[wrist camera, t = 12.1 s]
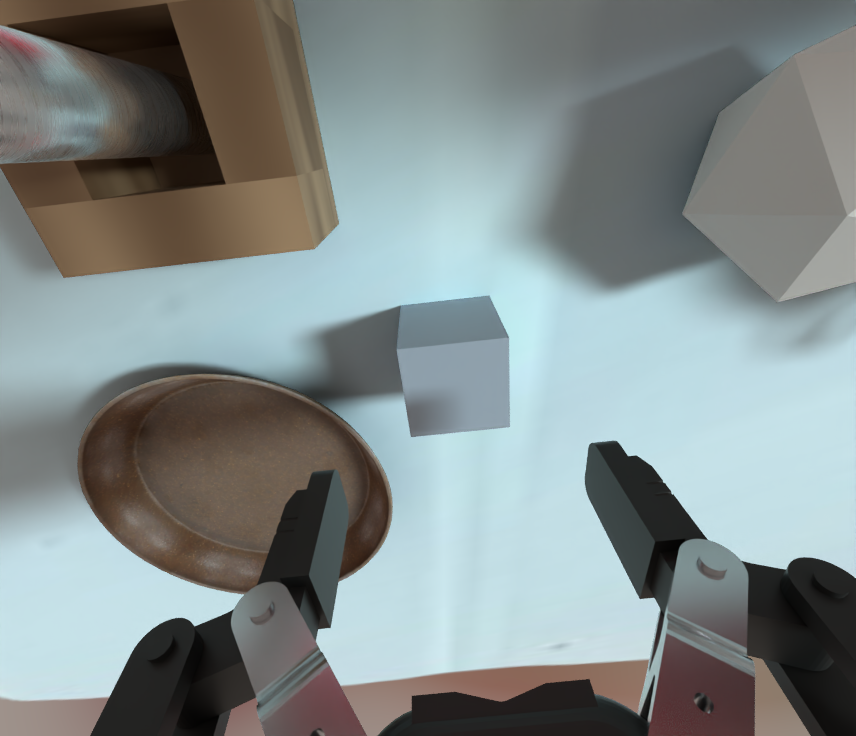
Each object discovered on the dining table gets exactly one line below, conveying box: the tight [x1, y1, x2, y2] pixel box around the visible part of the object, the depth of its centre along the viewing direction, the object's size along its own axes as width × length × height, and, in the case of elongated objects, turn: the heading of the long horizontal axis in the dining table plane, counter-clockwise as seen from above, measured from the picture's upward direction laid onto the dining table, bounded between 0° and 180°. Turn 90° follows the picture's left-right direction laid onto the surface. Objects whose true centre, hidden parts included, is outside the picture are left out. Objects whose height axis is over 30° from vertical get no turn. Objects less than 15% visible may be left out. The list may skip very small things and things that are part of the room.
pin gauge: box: [0, 25, 215, 164], centre depth 10 cm, size 2×2×12 cm
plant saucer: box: [78, 374, 393, 594], centre depth 24 cm, size 18×18×3 cm
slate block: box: [397, 296, 510, 437], centre depth 19 cm, size 4×4×5 cm
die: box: [682, 25, 856, 302], centre depth 14 cm, size 8×9×10 cm
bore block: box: [0, 0, 339, 278], centre depth 14 cm, size 9×9×5 cm
